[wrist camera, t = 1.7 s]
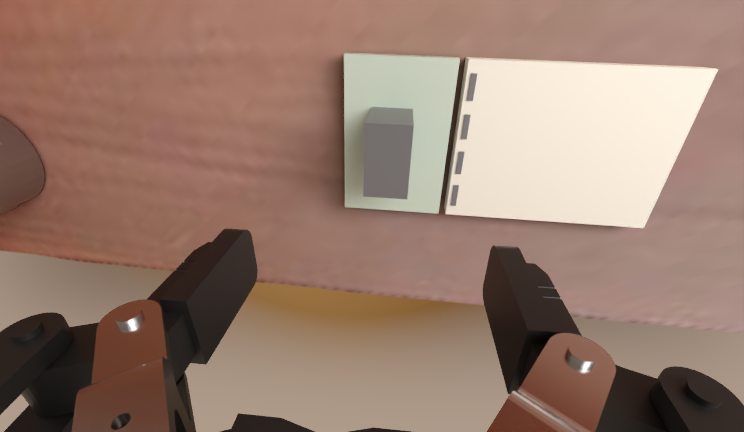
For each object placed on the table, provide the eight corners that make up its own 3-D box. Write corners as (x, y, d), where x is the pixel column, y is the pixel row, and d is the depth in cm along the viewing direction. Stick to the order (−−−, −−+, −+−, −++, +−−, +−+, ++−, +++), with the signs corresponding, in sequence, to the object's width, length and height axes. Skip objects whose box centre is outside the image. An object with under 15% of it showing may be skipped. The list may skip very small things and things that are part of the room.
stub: (457, 56, 25) (471, 65, 19) (437, 206, 31) (443, 245, 25) (346, 52, 25) (329, 59, 20) (347, 200, 31) (333, 237, 26)
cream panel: (701, 66, 24) (719, 69, 23) (633, 219, 30) (644, 228, 28) (465, 57, 25) (469, 58, 24) (444, 206, 31) (445, 214, 29)
